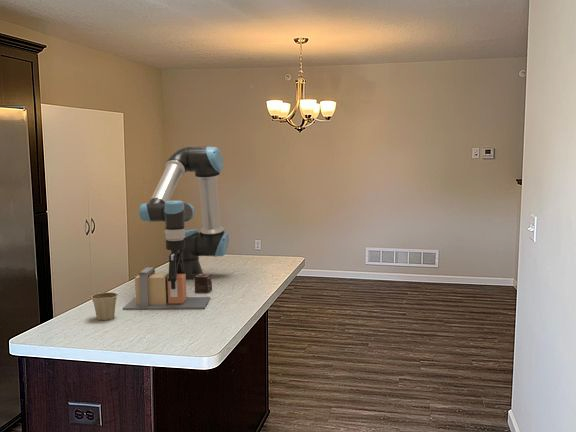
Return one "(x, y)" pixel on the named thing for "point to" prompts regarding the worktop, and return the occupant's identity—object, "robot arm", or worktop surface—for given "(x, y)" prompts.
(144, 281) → the holder
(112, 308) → the flower pot
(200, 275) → the box
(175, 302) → the block
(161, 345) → the worktop surface
